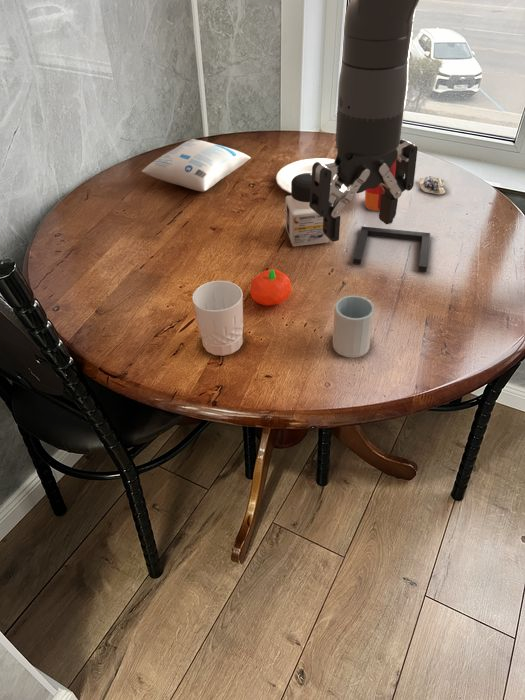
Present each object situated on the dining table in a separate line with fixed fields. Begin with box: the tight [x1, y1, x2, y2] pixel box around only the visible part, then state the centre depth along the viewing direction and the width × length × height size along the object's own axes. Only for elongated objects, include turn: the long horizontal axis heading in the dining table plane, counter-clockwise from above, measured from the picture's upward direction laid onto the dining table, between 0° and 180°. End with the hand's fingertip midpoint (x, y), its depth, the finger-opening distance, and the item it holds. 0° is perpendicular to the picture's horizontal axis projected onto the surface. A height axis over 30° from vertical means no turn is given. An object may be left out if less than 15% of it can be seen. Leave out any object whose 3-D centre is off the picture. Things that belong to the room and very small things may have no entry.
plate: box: [275, 157, 347, 195], centre depth 131 cm, size 21×21×2 cm
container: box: [285, 173, 330, 248], centre depth 110 cm, size 8×8×13 cm
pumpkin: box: [249, 268, 292, 306], centre depth 97 cm, size 7×8×6 cm
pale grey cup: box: [332, 294, 376, 359], centre depth 87 cm, size 6×6×8 cm
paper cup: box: [364, 161, 396, 212], centre depth 118 cm, size 8×8×14 cm
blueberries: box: [418, 175, 446, 196], centre depth 127 cm, size 7×8×2 cm
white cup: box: [191, 280, 244, 357], centre depth 88 cm, size 8×8×10 cm
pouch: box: [141, 138, 252, 193], centre depth 133 cm, size 8×19×20 cm
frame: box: [352, 225, 431, 273], centre depth 109 cm, size 14×12×1 cm
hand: (359, 229), depth 72 cm, fingers open, 8 cm apart
